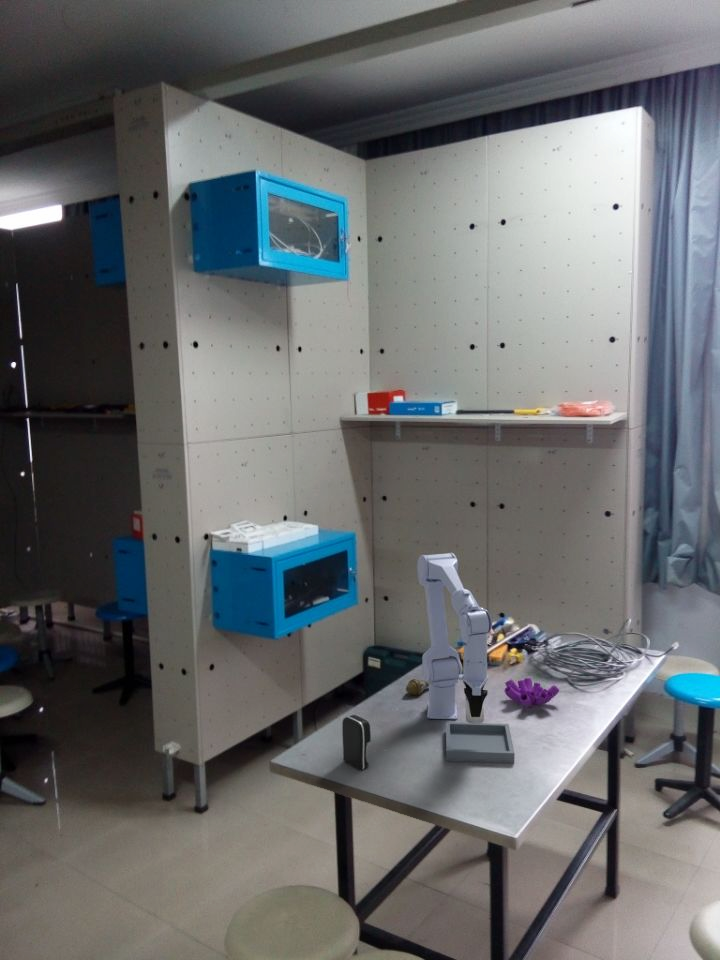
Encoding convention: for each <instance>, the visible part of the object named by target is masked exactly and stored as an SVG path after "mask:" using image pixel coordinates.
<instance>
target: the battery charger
mask: <svg viewBox="0 0 720 960" xmlns="http://www.w3.org/2000/svg"><path fill="white" fill-rule="evenodd" d="M341 726H342V728H341V729H342V749H343V750H342V751H343V755H342V756H343V757H342V758H343V761H344V762H345V763H347V764H348V765H350V766H352V767H354V768H356V769H357V770H360V771H362V770H364V769H366V768H368V767H369V762H368V760H367V746H368V744H369V743H371V741H372V738H371V737H372V735H371V734H372V733H371V725H370V722H369V721H368V720H367V719H365V718H363V717H361V716H358V715H357V714H352V715H348V716H346V717H343V720H342V725H341Z"/></svg>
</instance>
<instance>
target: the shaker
mask: <svg viewBox="0 0 720 960" xmlns="http://www.w3.org/2000/svg"><path fill="white" fill-rule="evenodd" d="M464 696H465V721H466V723H472V724H479V723H483V722H484V721H485V720H484V719H485V717H484V716H485V713H484V712H485V711H484V710H485V709H484V702H485V701H484V702H483V706H482V711H481V715H480V717H471V713H470V708H469V702H468V699H467V697H466V695H465V694H464Z"/></svg>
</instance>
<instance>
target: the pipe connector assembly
mask: <svg viewBox="0 0 720 960" xmlns="http://www.w3.org/2000/svg"><path fill="white" fill-rule="evenodd" d="M504 684H505V686H506V687H505V688H504V690H503V691H504V693H505V695H506V697H508V698H509V699H510V700H511V701H513V702H515V703H519V704H522V705H523V706H524V707H527V708H529V707H533V706H542V705H544V704H547V703H549V702H550V701H552V699H553V698H555V696H557V695H558V694H559V692H560V688H559V687H558V686H556V685H555V684H553V685H552V686H551V687H549V688H548V689H545V688H544V687H542V686H541V683H539V682H534V684H533V680H532V677H525V678H524V679H522V680H518V681H517V684H516V682H515V681H514V680H513V679H512V678H510V679H509V680H507V681H506V682H504Z"/></svg>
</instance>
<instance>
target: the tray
mask: <svg viewBox="0 0 720 960" xmlns="http://www.w3.org/2000/svg"><path fill="white" fill-rule="evenodd" d="M511 735H512V734H511V729H510V725H509V723H489V722H488V723H486V722H485V723H483V722H482V723H479V724H472V723H469V722H454V721H449V722H447V721H446V722H445V745H446V747H445V748H446V749H445V752H446V755H445V757H446V758H445V760H446V762H465V763H466V762H467V763H469V762H470V763H471V762H472V763H491V764H492V763H494V764H515V749H514V744H513V739H512V736H511Z"/></svg>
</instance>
